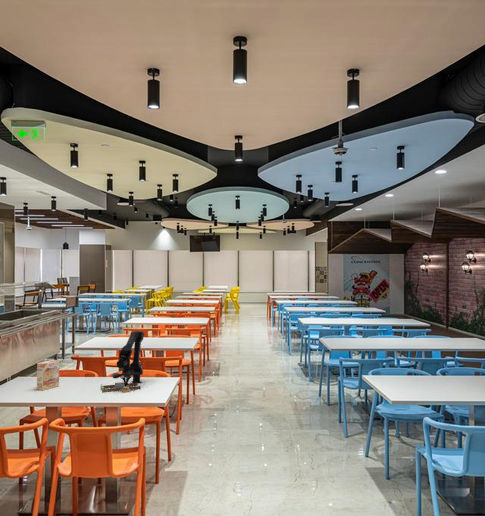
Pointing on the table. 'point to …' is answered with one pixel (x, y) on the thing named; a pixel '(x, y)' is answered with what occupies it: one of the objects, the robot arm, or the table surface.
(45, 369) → the coffeecake box
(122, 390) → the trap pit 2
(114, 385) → the finger box
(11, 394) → the table surface
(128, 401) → the table surface
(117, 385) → the slate block
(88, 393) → the table surface
